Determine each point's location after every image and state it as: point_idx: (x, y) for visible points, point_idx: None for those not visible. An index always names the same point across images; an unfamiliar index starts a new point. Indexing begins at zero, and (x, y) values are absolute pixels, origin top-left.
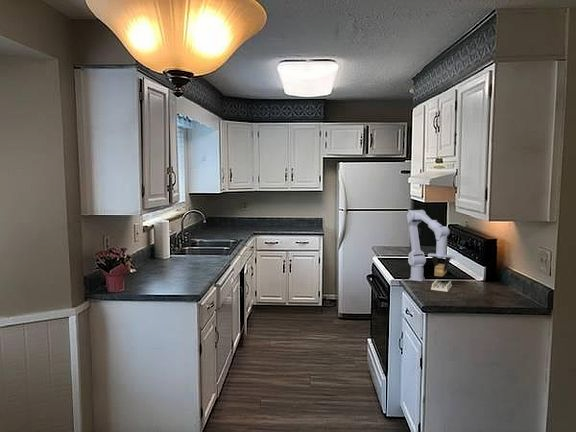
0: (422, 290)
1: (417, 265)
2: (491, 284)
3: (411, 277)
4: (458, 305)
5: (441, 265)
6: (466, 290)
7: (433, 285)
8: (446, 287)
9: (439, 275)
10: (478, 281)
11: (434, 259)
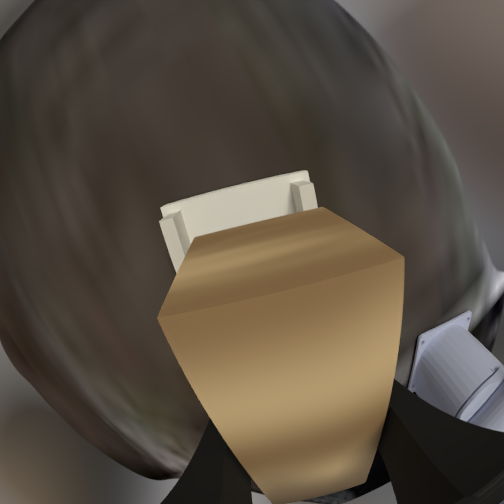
0: (347, 113)
1: (489, 388)
2: (127, 455)
3: (466, 330)
4: (33, 12)
5: (307, 462)
6: (108, 335)
7: (296, 190)
8: (168, 215)
9: (241, 228)
10: None
11: (490, 474)
